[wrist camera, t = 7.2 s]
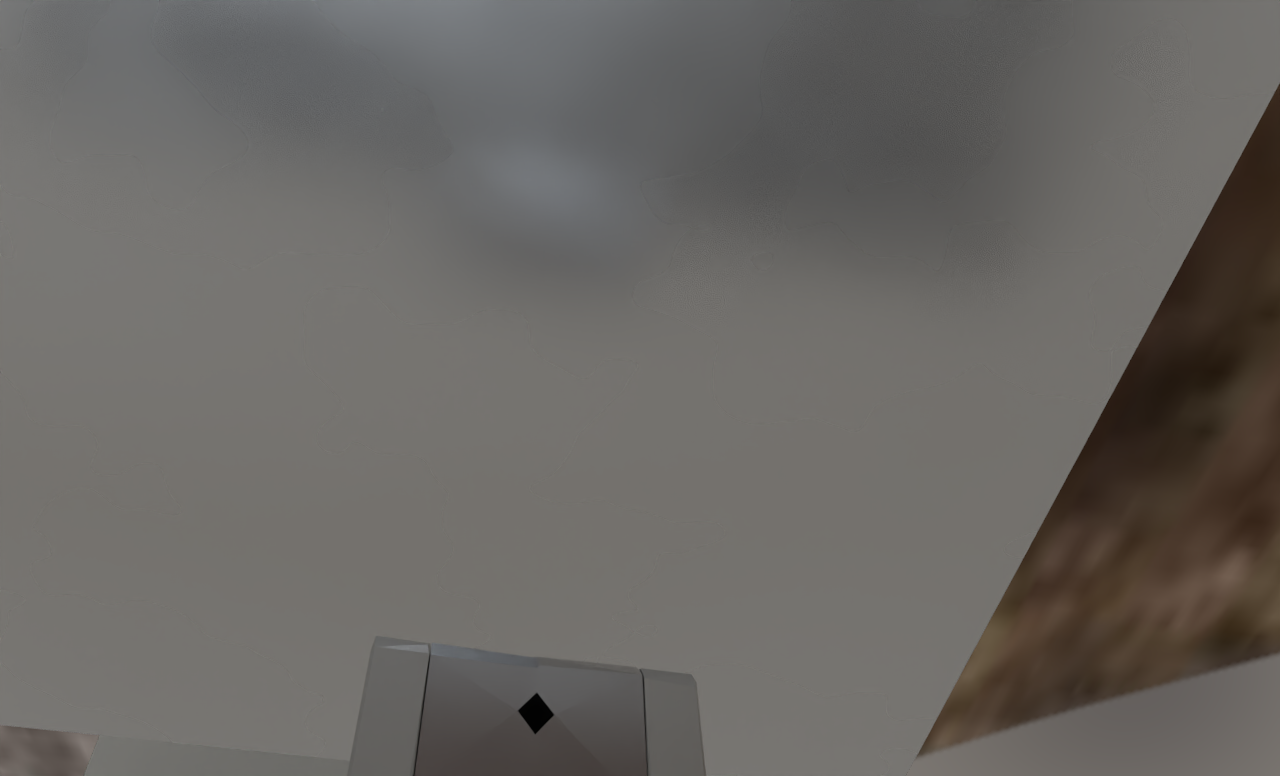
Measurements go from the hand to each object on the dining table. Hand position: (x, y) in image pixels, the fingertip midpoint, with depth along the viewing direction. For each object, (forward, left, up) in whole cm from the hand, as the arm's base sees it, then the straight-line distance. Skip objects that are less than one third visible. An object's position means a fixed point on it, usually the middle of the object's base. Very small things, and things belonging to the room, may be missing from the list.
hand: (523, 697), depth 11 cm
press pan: (0, +3, -9) cm, 10 cm away
